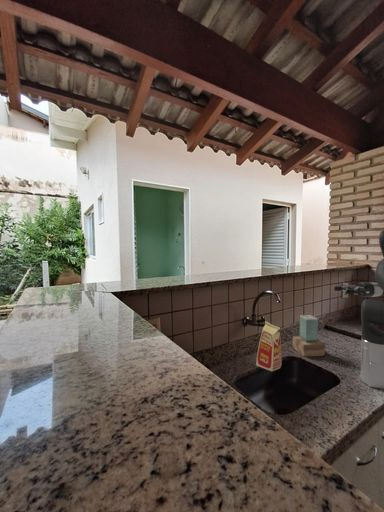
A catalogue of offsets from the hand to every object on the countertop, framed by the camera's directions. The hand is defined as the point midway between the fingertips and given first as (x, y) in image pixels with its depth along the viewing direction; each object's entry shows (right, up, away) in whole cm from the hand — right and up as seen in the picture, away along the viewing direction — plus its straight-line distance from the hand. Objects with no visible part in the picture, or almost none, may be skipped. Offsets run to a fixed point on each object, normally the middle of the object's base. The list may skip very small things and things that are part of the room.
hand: (340, 290), depth 123 cm
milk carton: (-41, -33, -13) cm, 54 cm away
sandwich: (-16, -32, +1) cm, 36 cm away
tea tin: (-16, -26, +1) cm, 31 cm away
